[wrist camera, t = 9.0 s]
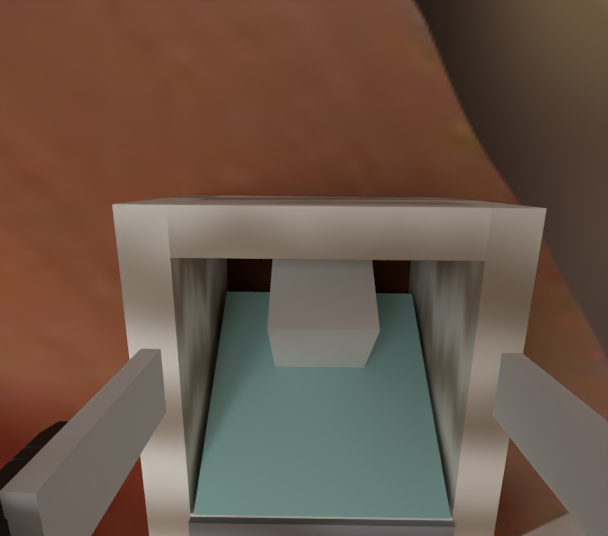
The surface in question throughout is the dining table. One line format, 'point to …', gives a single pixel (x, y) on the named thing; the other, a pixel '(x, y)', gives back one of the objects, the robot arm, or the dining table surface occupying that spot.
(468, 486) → the crate
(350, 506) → the trapdoor
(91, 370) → the dining table surface
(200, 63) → the dining table surface
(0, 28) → the dining table surface
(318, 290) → the light grey cube
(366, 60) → the dining table surface
